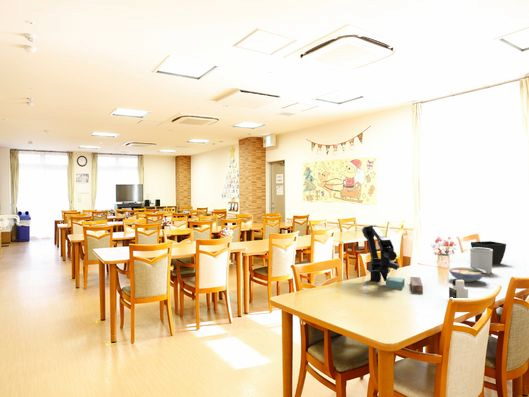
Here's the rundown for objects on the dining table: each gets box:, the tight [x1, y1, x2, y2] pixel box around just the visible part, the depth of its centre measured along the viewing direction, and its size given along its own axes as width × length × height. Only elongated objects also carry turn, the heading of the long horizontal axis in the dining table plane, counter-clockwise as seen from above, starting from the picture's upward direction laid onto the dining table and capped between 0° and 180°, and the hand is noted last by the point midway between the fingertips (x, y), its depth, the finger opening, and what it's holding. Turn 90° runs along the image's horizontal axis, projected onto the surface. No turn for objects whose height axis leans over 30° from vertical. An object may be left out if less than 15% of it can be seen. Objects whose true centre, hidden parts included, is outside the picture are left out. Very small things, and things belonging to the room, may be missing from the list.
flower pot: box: [470, 240, 507, 265], centre depth 307 cm, size 19×19×17 cm
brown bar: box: [409, 276, 424, 294], centre depth 235 cm, size 6×22×5 cm, turn 161°
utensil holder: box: [469, 247, 493, 275], centre depth 275 cm, size 15×15×18 cm
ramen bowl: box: [448, 266, 488, 283], centre depth 251 cm, size 25×23×8 cm
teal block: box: [385, 276, 406, 290], centre depth 241 cm, size 10×10×5 cm
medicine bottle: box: [448, 278, 469, 299], centre depth 209 cm, size 7×7×12 cm
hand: (385, 281), depth 243 cm, fingers closed
